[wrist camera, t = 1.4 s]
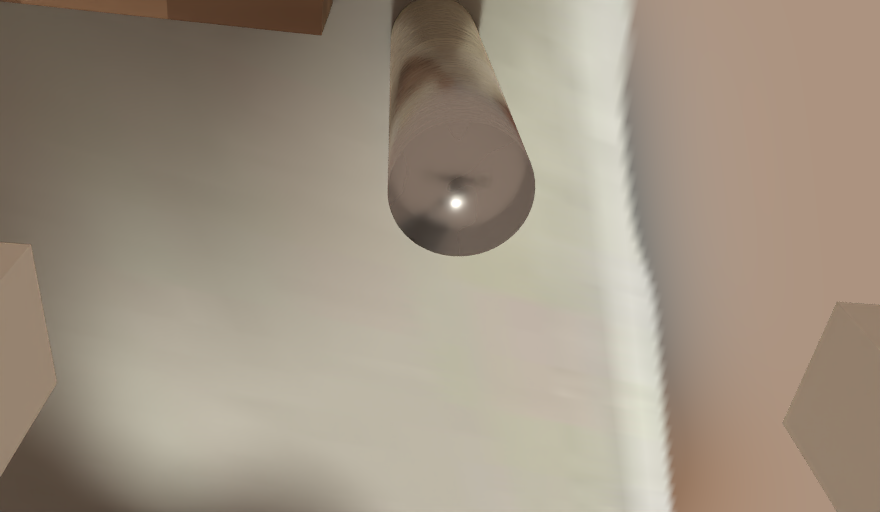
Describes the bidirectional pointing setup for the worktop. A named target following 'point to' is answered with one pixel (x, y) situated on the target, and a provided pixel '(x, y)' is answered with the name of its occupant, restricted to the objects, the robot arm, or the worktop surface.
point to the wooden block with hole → (214, 11)
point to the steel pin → (451, 136)
